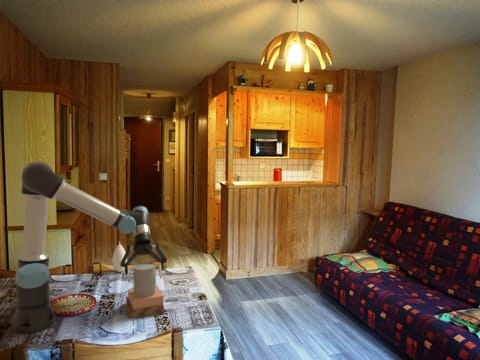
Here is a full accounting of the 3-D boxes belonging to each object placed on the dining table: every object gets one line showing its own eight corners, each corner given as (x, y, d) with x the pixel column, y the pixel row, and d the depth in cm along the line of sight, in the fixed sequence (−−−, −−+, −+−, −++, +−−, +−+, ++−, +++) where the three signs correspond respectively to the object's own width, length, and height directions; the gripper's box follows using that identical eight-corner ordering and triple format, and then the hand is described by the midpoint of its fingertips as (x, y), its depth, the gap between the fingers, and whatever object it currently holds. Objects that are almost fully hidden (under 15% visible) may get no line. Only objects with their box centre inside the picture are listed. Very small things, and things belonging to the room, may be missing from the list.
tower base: (128, 320, 156) (127, 310, 155) (126, 305, 170) (126, 296, 169) (163, 315, 161) (163, 306, 160) (159, 300, 175) (159, 292, 174)
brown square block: (132, 309, 156) (132, 300, 156) (128, 297, 168) (128, 289, 167) (163, 304, 162) (163, 296, 161) (156, 293, 173) (156, 285, 173)
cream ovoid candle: (129, 269, 213) (129, 239, 211) (123, 274, 205) (123, 242, 203) (116, 268, 214) (115, 238, 212) (110, 273, 206) (109, 242, 204)
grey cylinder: (145, 286, 171) (144, 261, 169) (160, 291, 166) (160, 265, 164) (129, 294, 162) (128, 266, 161) (144, 299, 158) (144, 271, 156)
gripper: (167, 238, 180) (172, 279, 168) (114, 242, 172) (115, 285, 160) (169, 230, 175) (174, 272, 163) (114, 234, 167) (115, 278, 154)
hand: (145, 278), depth 161 cm, fingers open, 13 cm apart
